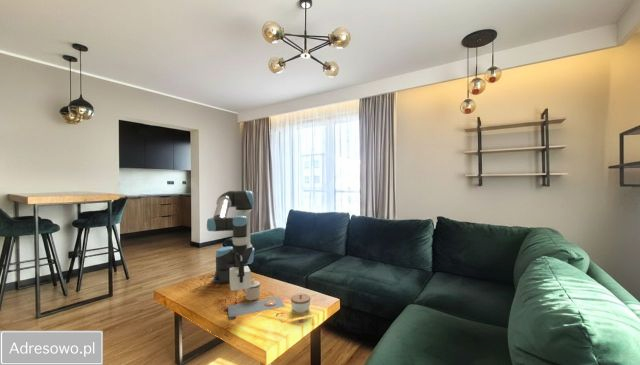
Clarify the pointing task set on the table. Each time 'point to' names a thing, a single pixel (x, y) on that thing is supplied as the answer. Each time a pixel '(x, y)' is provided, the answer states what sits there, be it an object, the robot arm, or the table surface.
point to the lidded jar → (300, 302)
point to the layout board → (254, 307)
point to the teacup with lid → (252, 291)
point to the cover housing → (234, 279)
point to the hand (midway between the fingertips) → (239, 284)
